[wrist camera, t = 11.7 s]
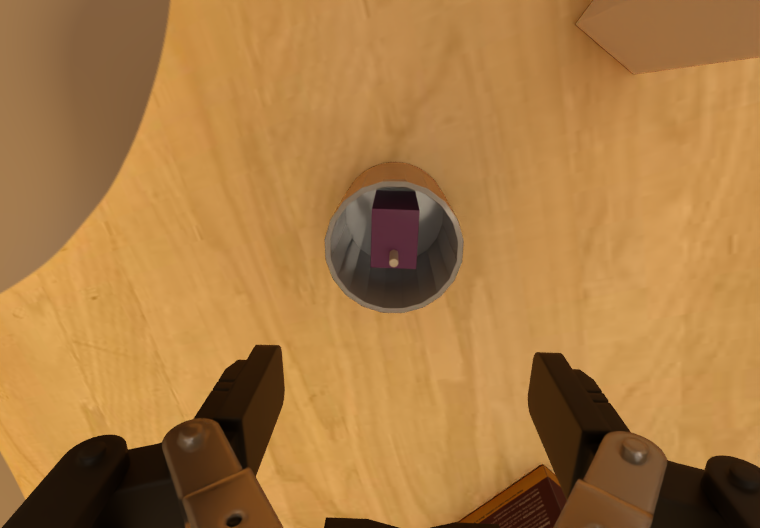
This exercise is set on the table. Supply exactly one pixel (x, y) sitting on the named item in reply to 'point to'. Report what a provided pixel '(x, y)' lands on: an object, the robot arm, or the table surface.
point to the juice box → (394, 229)
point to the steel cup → (353, 243)
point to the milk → (674, 31)
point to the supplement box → (524, 503)
